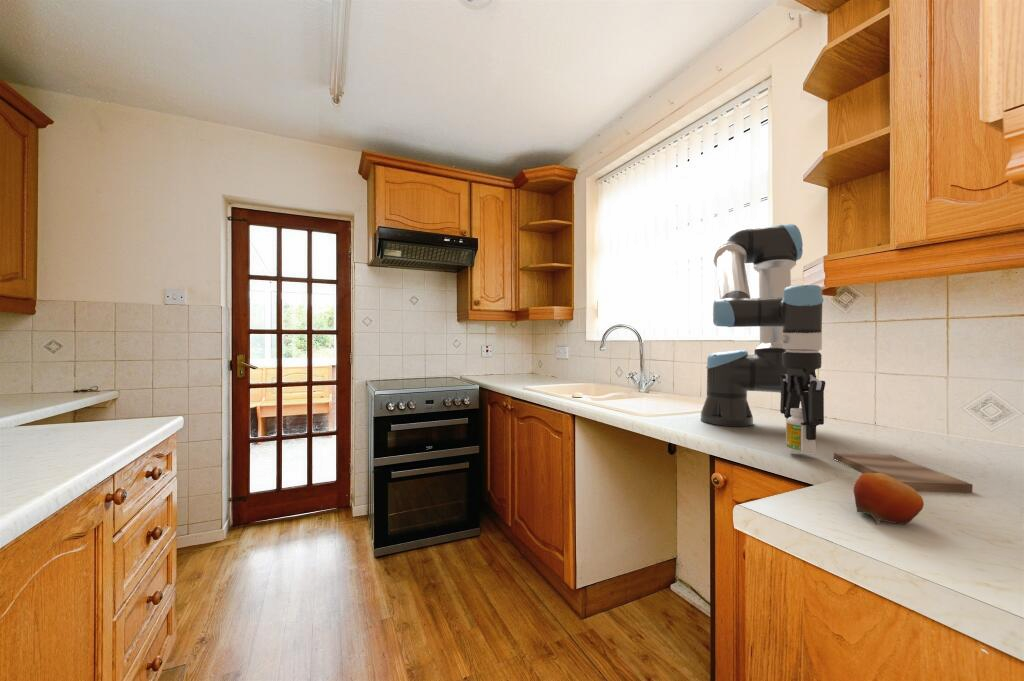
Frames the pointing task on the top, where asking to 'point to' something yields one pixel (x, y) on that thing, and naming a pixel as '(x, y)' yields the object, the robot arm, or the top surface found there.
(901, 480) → the walnut board
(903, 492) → the fruit
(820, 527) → the top surface
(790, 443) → the supplement bottle
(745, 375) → the robot arm
